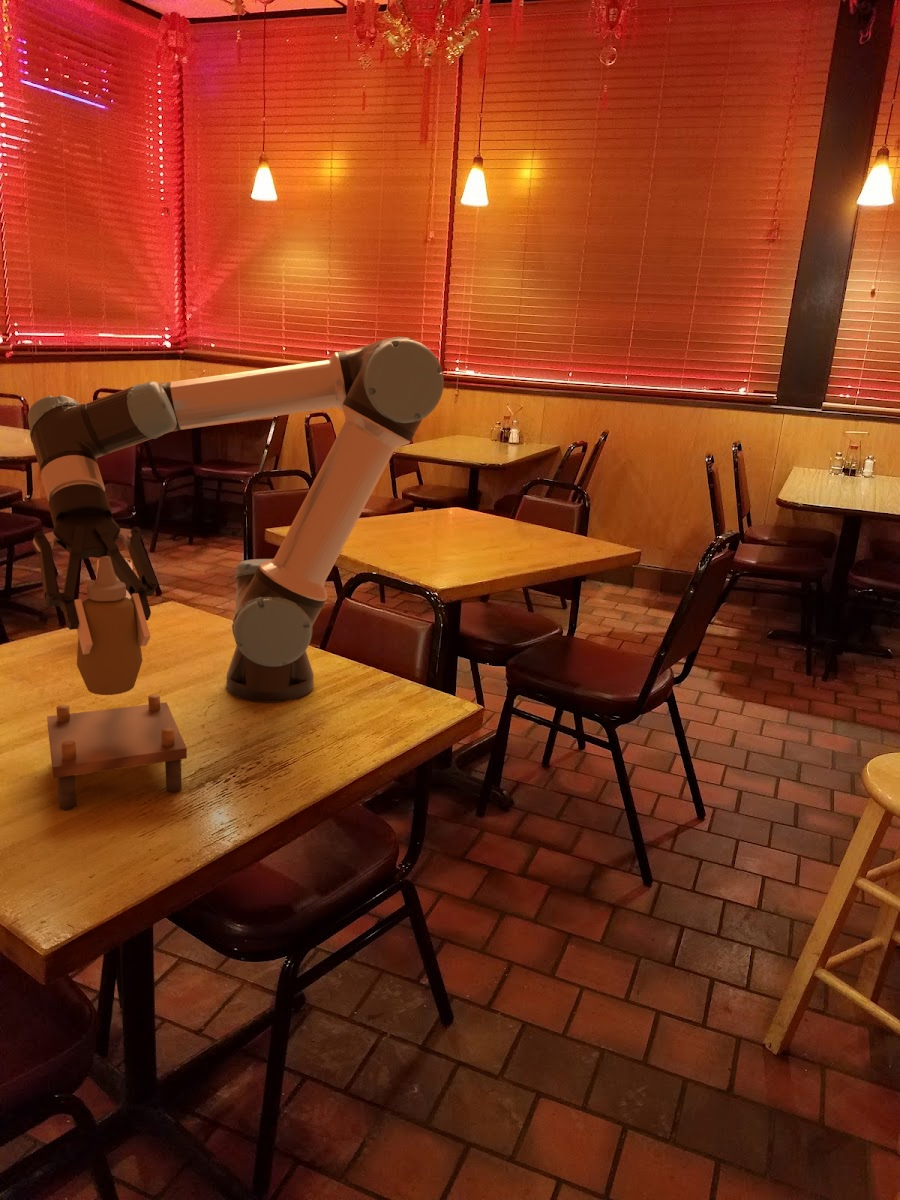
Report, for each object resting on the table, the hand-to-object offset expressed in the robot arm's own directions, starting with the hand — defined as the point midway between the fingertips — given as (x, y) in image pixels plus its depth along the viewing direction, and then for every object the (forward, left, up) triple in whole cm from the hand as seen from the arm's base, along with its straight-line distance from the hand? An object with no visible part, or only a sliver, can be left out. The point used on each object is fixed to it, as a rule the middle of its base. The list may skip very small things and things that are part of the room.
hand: (117, 645), depth 107 cm
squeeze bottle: (+2, -3, -7) cm, 8 cm away
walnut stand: (+2, -3, -20) cm, 20 cm away
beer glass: (+17, -64, -20) cm, 69 cm away
